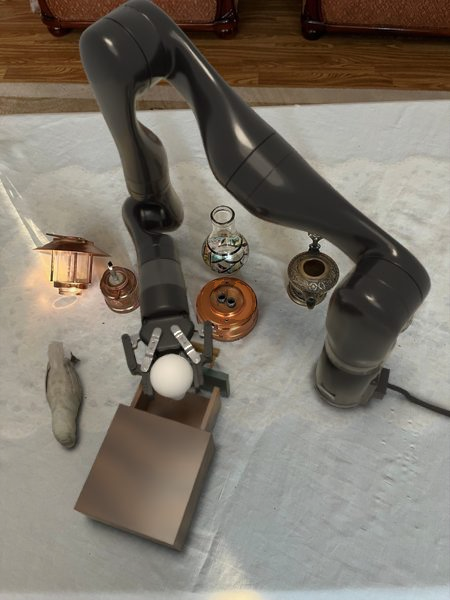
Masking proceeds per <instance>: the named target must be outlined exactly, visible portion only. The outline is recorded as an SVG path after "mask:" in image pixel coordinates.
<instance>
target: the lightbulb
mask: <svg viewBox="0 0 450 600" xmlns="http://www.w3.org/2000/svg"><path fill="white" fill-rule="evenodd" d="M190 363H191V362H190V361H189V360H188V359H187V358H186V357H183V356H182V355H175V354H169V355H165V356H162V357H161V358H159V359H158V360H157V361H156V362H155V363H154V365H153V367H152V369H151V372H150V381H151V384H152V386H153V388H154V390H155V391H156V392H157V393H159V394H160V395H162V396H165V397H169V398H172V399H174V400H181V399H182V398H183V397H184V396H185V394H186V392H189V389H190V388H191V384H192V381H193V370H192V367H191V365H190Z"/></svg>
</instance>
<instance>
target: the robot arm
mask: <svg viewBox="0 0 450 600" xmlns="http://www.w3.org/2000/svg"><path fill="white" fill-rule="evenodd" d="M78 51H79V57H80V61H81V65H82V69H83V71H84V74H85V77H86V80H87V81H88V85H89V87H90V89H91V91H92V94H93V96H94V98H95V101H96V103H97V105H98V108H99V111H100V113H101V115H102V118H103V119H104V122H105V125H106V126H107V129H108V131H109V133H110V135H111V137H112V139H113V141H114V142H113V143H114V144H115V147H116V149H117V153H118V155H119V159H120V164H121V169H122V173H123V178H124V183H125V186H126V190H127V193H128V194H129V196H128V197H126V199H125V200H124V201H123V203H122V206H121V218H122V221H123V223H124V226H125V228H126V230H127V232H128V234H129V237H130V238H131V240H132V244H133V246H134V250H135V256H136V263H137V265H136V266H137V290H138V291H137V292H138V303H139V311H140V323H141V325H140V326H141V327H140V330H139V331H138V332H137V333H133V334H128V333H123V334H122V335H121V337H120V339H121V344H122V349H123V351H124V352H123V353H124V356H125V361H126V364H127V368H128V371H129V372H130V374H131V376H134V377H135V376H139V377H141V380H142V386H143V392H144V394H145V396H146V398H147V397H149V400H150V401H153V400H155V393H154V388H153V386H152V384H151V381H150V372H151V369H152V367H153V365H154V363H155V362H156V361H157V360H158V359H159V356H160V357H162V356H165V355H169V354H183V355H184V357H185V359H186V360H187V361H188V362H189V363H191V364H192V370H193V379H194V386H195V388H194V391H195V394H201V393H202V392H201V391H202V390H201V388H204V379H203V372H202V367H205V365H207V364H210V363H212V362H213V347H214V341H213V339H214V336H213V335H214V334H213V324H212V321H210V320H205V321H204V322H203V323H194V321H193V320H192V318H191V313H190V306H189V299H188V294H187V293H188V289H187V286H186V280H185V276H184V273H183V269H182V262H181V256H180V250H179V244H178V242H177V239H176V238H175V237H173V236H172V235H169V234H168V233H172V232H173V233H174V232H175V231H177V230H178V229H180V228H181V226H182V225H183V223H184V220H185V210H184V206H183V203H182V201H181V199H180V196H179V194H178V193H177V191H176V190H175V188H174V187H173V184H172V182H171V175H170V165H169V157H168V151H167V150H166V147H165V145H164V143H163V141H162V140H161V139H160V137H159V136H158V135H157V134H156V133H154V132H153V131H152V130H151V129H150V128H149V127H147V126H146V125H144V124H143V123H142V122H141V121H140V120H139V119H138V118H137V108H136V107H137V106H136V105H137V98H139V97H141V96H142V95H144V94H145V93H146V92H147V91H149V90H150V89H151V88H153V87H154V86H156V85H157V84H158V83H159V82H161V81H162V80H164V81H166V82H167V83H168V84H169V85H170V86H172V88H173V89H174V90H175V91H176V92H177V93H178V94H179V95H180V96H181V97H182V99H183V100H184V101H185V102H186V104H187V105H188V106H189V108H190V110H191V111H192V114H193V116H194V119H195V122H196V125H197V127H198V130H199V134H200V139H201V143H202V147H203V150H204V154H205V158H206V160H207V163H208V166H209V169H210V171H211V173H212V175H213V177H214V179H215V180H216V181H217V183H218V185H220V186H221V187H222V188H223V190H225V191H226V192H227V193H228V194H229V195H230V196H231V197H232V198H233V199H234V200H236V202H237V203H238V204H239V205H240V206H242V207H243V208H244V209H245V210H246V211H247V212H248V213H249V214H251V216H253V217H255V218H257V219H258V220H261V221H264V222H266V223H270V224H273V225H277V226H280V227H284V228H288V229H293V230H296V231H301V232H305V233H309V234H311V235H313V236H317V237H319V238H322V239H323V240H325V241H327V242H329V243H331V244H332V245H333V246H335V247H336V248H337V249H338V250H340V252H342V253H343V254H344V255H345V256H347V257H348V259H350V260H351V261H352V262H353V264H354V265H353V266H352V267H351V269H350V270H349V271H348V272H347V273H346V275H345V276H344V277H343V278H342V280H341V281H340V282H339V283H338V284H337V285H336V286H335V288H334V289H333V291H332V293H331V295H330V297H329V301H328V305H327V311H326V316H325V323H324V324H325V329H326V335H325V338H324V341H323V345H322V349H321V352H320V355H319V358H318V362H317V365H316V367H315V370H314V373H313V386H314V388H315V392H316V393H317V395H318V396H319V397H320V398H321V399H322V400H323V401H324V402H325V403H327V404H328V405H331V406H333V407H334V408H335V407H336V408H339V409H350V408H354V407H356V406H358V405H360V406H364V407H365V406H366V405H367V403H368V402H369V400H370V399H371V398H374V399H379V400H381V401H382V400H383V399H384V398H385V397H386V395H387V390H388V389H389V390H391V391H393V392H396V393H399V394H401V395H403V396H404V397H405V398H406V399H407V400H408V401H410V402H412V403H414V404H416V405H418V406H420V407H423V408H425V409H427V410H430V411H432V412H436V413H438V414H441V415H444V416H448V417H450V410H449V409H445V408H442V407H440V406H436V405H433V404H431V403H428V402H425V401H424V400H421V399H420V398H417V397H416V396H413V395H412V394H411V393H410V392H409V391H408V390H406V389H405V388H402V387H401V386H398V385H396V384H392V383H390V382H389V380H390V373H391V369H390V368H386V367H384V366H385V365H386V363H387V361H388V359H389V357H390V356H391V354H392V352H393V351H394V349H395V347H396V344H397V342H398V337H399V336H400V334H401V333H402V331H403V330H404V329H405V327H406V326H407V324H408V323H409V322H410V321H411V320H412V318H413V317H414V315H415V314H416V313H417V311H418V310H419V309H420V307H421V306H422V305H423V303H424V302H425V300H426V298H427V297H428V295H429V294H430V291H431V288H432V281H431V277H430V275H429V272H428V270H427V269H426V267H425V266H424V265H423V263H421V261H420V260H419V259H418V258H417V257H416V256H415V255H414V254H413V252H411V251H410V250H409V249H408V248H407V247H406V246H404V245H403V244H402V243H401V242H400V241H398V240H397V239H396V238H394V237H393V236H392V235H391V234H389V232H387V231H386V230H385V229H384V228H382V227H381V226H380V225H378V224H377V223H375V222H374V221H373V220H372V219H370V218H369V217H368V216H367V215H366V214H364V213H363V212H362V211H361V210H360V209H358V208H357V207H356V206H355V205H354V204H352V203H351V202H350V201H349V200H348V199H347V198H345V197H344V195H342V194H341V193H340V192H339V191H338V190H337V189H336V188H335V187H334V186H333V185H332V184H330V183H329V182H328V181H327V180H326V179H325V178H324V177H323V176H322V175H321V174H320V173H319V172H318V171H317V170H315V168H313V167H312V165H311V164H310V163H309V162H308V161H307V160H306V158H304V157H303V156H302V155H301V153H300V152H299V151H298V150H296V149H295V148H294V147H293V146H292V144H290V143H289V141H287V140H286V139H285V138H284V137H283V136H282V135H281V133H279V132H278V131H277V130H276V129H275V128H274V127H273V126H271V124H269V123H268V122H267V121H266V120H264V118H262V117H261V116H260V115H259V114H258V113H257V112H256V111H255V110H254V109H253V107H251V106H250V104H248V103H247V102H246V101H245V100H244V99H243V98H242V97H241V95H239V94H238V93H237V92H236V91H235V89H234V88H233V87H231V86H230V84H229V83H228V82H227V81H226V80H225V79H224V78H223V77H222V76H221V75H220V74H219V73H218V71H216V69H215V68H214V67H213V66H212V64H211V63H210V62H209V61H208V60H207V58H206V57H205V56H204V55H203V53H202V52H200V50H199V49H198V47H197V46H195V44H194V42H192V40H191V39H190V38H189V37H188V36H187V35H186V34H185V32H184V31H183V30H182V29H181V28H180V27H179V25H178V24H177V23H176V22H175V21H174V20H173V19H172V17H171V16H170V15H168V14H167V13H166V12H165V11H164V10H163V9H162V8H161V7H159V6H158V5H157V4H156V3H154V2H153V1H151V0H127V1H126V2H124V3H122V4H121V5H119V6H118V7H116V8H115V9H112V11H110V12H108V13H107V14H105V15H104V16H103V17H101V18H99V19H97V21H95V22H93V23H92V24H91V25H89V26H88V27H87V28H86V29H85V30H84V31H83V32H82V34H81V35H80V37H79V41H78ZM195 333H197V334H198V336H199V338H200V339H202V340H203V344H204V353H199V354H198V352H196V351H195V350H194V348H193V346H192V345H191V343H190V341H192V338H193V336H194V335H195ZM140 342H142V343H143V344H144V345H145V347H146V349H145V353H144V358H143V360H142V362H141V363H138V361H137V357H136V352H135V350H137V349H138V347H139V343H140Z"/></svg>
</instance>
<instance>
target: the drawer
mask: <svg viewBox="0 0 450 600" xmlns="http://www.w3.org/2000/svg"><path fill="white" fill-rule="evenodd" d="M190 343H191V345H192V346H193V348H194V350H195V351H196V352H197V353H199V354H202V353H204V343H200V342H197V341H194V340H190ZM220 353H221V349H220V348H218V347H215V346H213V362H212V363H209V365H208V366H207V367H206V366H203V367H202V372H203V379H204V388H201V389H200V391H204V392H207V393H211V395H210V397H206V396H203V395H200V394H198V393H194V392H190V391H187V392H186V394H185V396H184V397H183V398H182V399H181V400H174V399H172V398H169V397H165V396H162V395H160V394H159V393H157V392H156V391H155V390H154V393H155V400H153V401H150V400H149V397H147V398H146V396H145V394H144V392H143V386H142V379H141V380H140V382H139V385H138V387H137V388H136V391H135V393H134V396H133V397H132V401H131V403H130V405H129V406H130V407H133V408H136V409H139V410H142V411H145V412H149V413H152V414H155V415H158V416H161V417H164V418H168V419H171V420H174V421H177V422H180V423H183V424H186V425H190V426H193V427H196V428H199V429H202V430H205V431H208V432H212V433H213V429H214V427H215V423H216V421H217V418H218V415H219V413H220V408H221V407H222V398H221V397H224V398H227V399H228V398H229V396H230V394H231V384H230V374H229V373H226V372H223V371H219V370H216V369H213V368H214V366H215V362H216V361H217V358H219V357H220ZM175 355H179V356H181V355H180V354H175ZM159 358H161V357H160V356H159ZM189 363H190V365H191V367H192V364H191V362H189ZM190 388H194V389H195V386H194V379H193V381H192V384H191V386H190Z"/></svg>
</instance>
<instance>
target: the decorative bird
mask: <svg viewBox="0 0 450 600" xmlns="http://www.w3.org/2000/svg"><path fill="white" fill-rule="evenodd" d="M47 347H48V348H47V349H48V351H47V358H48V361H47V363H46V364H47V366H46V371H45V376H44V395H45V398H46V402H47V404H48V406H49V409H50V412H51V429H52V433H53V437H54V439H55V440H56V441H57V442H58V444H60V446H63V447H65V448H73V447H74V445H76V439H77V438H76V437H77V425H76V418H77V415H78V411H79V408H80V404H81V402H82V387H81V382H80V379H79V376H78V374H77V371H76V369H75V366H74V364H77V361H78V362H80V361H82V360H81V359H78V358H77V356H75V354H73V352H72V351H70V359H69V358H68V357H65V348H64V343H63V342H61V341H57V340H51V342H50V343H48V345H47Z"/></svg>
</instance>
